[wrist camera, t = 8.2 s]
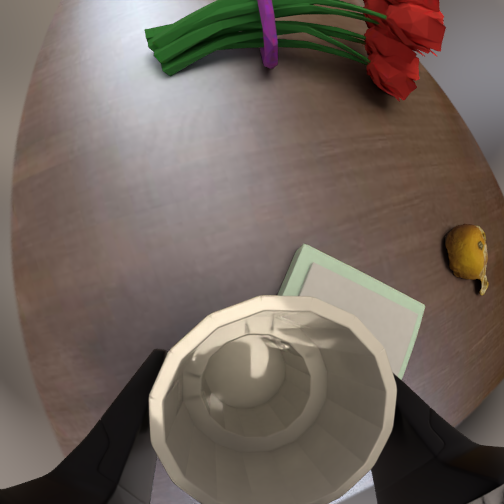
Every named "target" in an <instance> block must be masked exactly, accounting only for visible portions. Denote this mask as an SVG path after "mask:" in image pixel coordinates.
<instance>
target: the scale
mask: <svg viewBox="0 0 504 504" xmlns="http://www.w3.org/2000/svg"><path fill="white" fill-rule="evenodd" d="M278 295H279V296H312V297H316V298H318V299H320V300H322V301H325V302H327V303H329V304H331V305H333V306H336V307H338V308H340V309H342V310H345V311H347V312H349V313H351V314H354V315H355V316H356V317H358V318H359V320H360V321H361V322H362V323H363V324H364V325H365V326H366V327H367V328H368V330H369V331H370V332H371V333H372V334H373V335H374V336H375V337H376V339H377V340H378V341H379V342H380V343H381V344H382V345H383V347H384V349H385V350H386V353H387V356H388V359H389V362H390V366H391V369H392V372H393V373H394V374H395V375H396V376H397V377H398V378H400V379H401V380H402V377H403V375H404V372H405V369H406V367H407V364H408V361H409V358H410V355H411V352H412V349H413V346H414V343H415V340H416V337H417V333H418V330H419V327H420V323H421V320H422V316H423V312H424V309H425V305H423V304H422V303H420V302H418V301H416V300H414V299H412V298H410V297H408V296H407V295H405V294H403V293H401V292H399V291H397V290H395V289H393V288H391V287H389V286H388V285H386V284H384V283H382V282H380V281H378V280H376V279H374V278H372V277H370V276H368V275H366V274H364V273H362V272H360V271H358V270H357V269H355V268H353V267H351V266H349V265H347V264H345V263H343V262H341V261H339V260H337V259H335V258H333V257H331V256H329V255H327V254H325V253H323V252H321V251H319V250H317V249H315V248H313V247H311V246H309V245H306V244H303V245H302V246H301V247H300V248H299V249H298V250H297V251H296V252H295V255H294V257H293V260H292V262H291V264H290V267H289V269H288V271H287V274H286V276H285V278H284V281H283V283H282V285H281V288H280V290H279V292H278Z"/></svg>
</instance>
